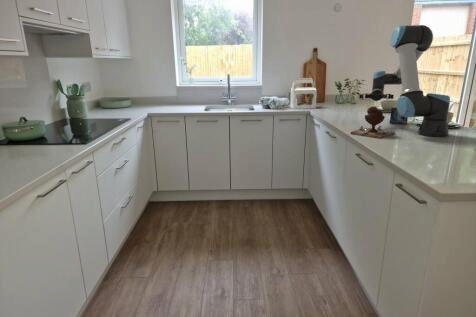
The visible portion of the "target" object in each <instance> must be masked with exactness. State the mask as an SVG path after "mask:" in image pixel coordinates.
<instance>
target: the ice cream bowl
mask: <svg viewBox="0 0 476 317" xmlns="http://www.w3.org/2000/svg"><path fill="white" fill-rule="evenodd" d="M366 113H367V114H366V115H364V119H365V121H366V123H368V124H369V125H371V128H372V129H371V130H369V131H368V132H371V133H377V132H378V131H377V130H376V129H377V128H376V126H379V124H381V123H382V122H383V121H385V118H386V116H385V115H384V114H383V112H382V110H381V109H379V108H377V107H376V106H370V107H368V109H367V110H366Z"/></svg>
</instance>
